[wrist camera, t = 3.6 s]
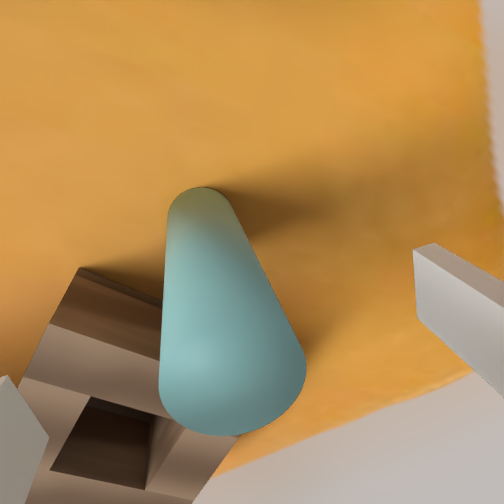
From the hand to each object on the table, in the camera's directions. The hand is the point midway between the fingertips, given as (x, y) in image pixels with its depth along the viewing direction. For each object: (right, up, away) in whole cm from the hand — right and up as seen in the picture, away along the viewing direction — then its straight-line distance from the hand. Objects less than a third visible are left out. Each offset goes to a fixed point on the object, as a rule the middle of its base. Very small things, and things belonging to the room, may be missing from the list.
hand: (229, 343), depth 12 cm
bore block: (-8, -5, +14) cm, 17 cm away
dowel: (-2, +5, +11) cm, 12 cm away
